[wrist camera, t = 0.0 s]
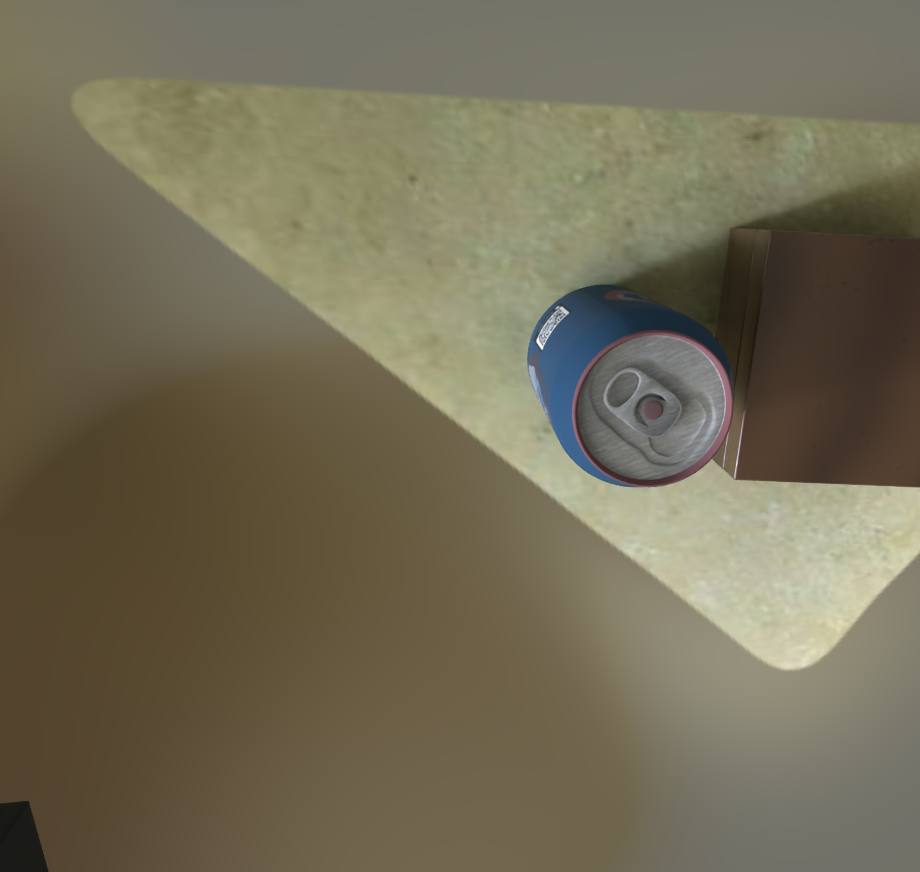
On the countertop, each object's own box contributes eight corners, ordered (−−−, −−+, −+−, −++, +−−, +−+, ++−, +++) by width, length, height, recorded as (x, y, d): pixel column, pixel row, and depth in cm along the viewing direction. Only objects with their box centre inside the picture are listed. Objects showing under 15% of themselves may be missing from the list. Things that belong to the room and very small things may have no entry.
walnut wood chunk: (701, 449, 42) (733, 480, 37) (730, 227, 39) (770, 230, 34) (874, 456, 42) (929, 488, 38) (916, 236, 39) (981, 241, 35)
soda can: (693, 337, 41) (792, 389, 29) (606, 447, 42) (666, 538, 30) (582, 253, 39) (639, 272, 28) (496, 369, 41) (516, 433, 29)
